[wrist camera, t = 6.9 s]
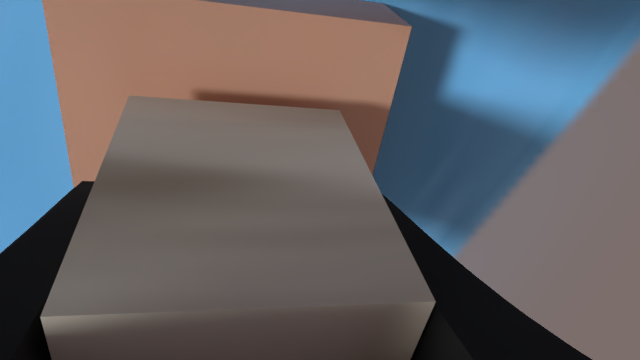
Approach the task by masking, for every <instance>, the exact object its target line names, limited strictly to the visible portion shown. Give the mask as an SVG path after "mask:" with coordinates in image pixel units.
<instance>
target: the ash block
mask: <svg viewBox="0 0 640 360" xmlns="http://www.w3.org/2000/svg"><path fill="white" fill-rule="evenodd" d="M435 302H436V301H435V299H434V297H433V295H432V293H431V291H430V289H429V287H428V285H427V283H426V281H425V279H424V277H423V275H422V273H421V271H420V269H419V267H418V265H417V263H416V261H415V259H414V257H413V255H412V253H411V251H410V249H409V247H408V245H407V243H406V241H405V239H404V237H403V235H402V233H401V231H400V229H399V228H398V226H397V224H396V222H395V220H394V218H393V216H392V214H391V212H390V210H389V208H388V206H387V204H386V202H385V200H384V198H383V196H382V194H381V192H380V190H379V188H378V186H377V184H376V182H375V180H374V178H373V176H372V174H371V172H370V170H369V168H368V166H367V164H366V162H365V160H364V158H363V156H362V154H361V152H360V150H359V148H358V146H357V144H356V142H355V140H354V138H353V136H352V134H351V132H350V130H349V128H348V126H347V124H346V122H345V120H344V118H343V116H342V114H341V112H340V110H328V109H314V108H300V107H286V106H272V105H257V104H243V103H229V102H215V101H201V100H187V99H173V98H159V97H144V96H130V95H129V97H128V100H127V102H126V105H125V107H124V109H123V112H122V114H121V117H120V119H119V122H118V124H117V127H116V129H115V132H114V134H113V137H112V139H111V142H110V144H109V147H108V149H107V152H106V154H105V157H104V159H103V162H102V164H101V167H100V169H99V172H98V174H97V177H96V179H95V182H94V184H93V187H92V189H91V192H90V194H89V197H88V199H87V202H86V204H85V207H84V209H83V212H82V214H81V217H80V219H79V222H78V224H77V226H76V229H75V231H74V234H73V236H72V239H71V241H70V244H69V246H68V249H67V251H66V254H65V256H64V259H63V261H62V264H61V266H60V269H59V271H58V274H57V276H56V279H55V281H54V284H53V286H52V289H51V291H50V294H49V296H48V299H47V301H46V304H45V306H44V309H43V311H42V314H41V316H40V318H41V322H42V326H43V329H44V333H45V337H46V340H47V344H48V348H49V352H50V355H51V359H52V360H410V359H411V357H412V355H413V352H414V350H415V348H416V346H417V343H418V341H419V339H420V336H421V334H422V332H423V330H424V327H425V325H426V323H427V320H428V318H429V316H430V314H431V311H432V309H433V307H434V305H435Z"/></svg>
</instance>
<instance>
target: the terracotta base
mask: <svg viewBox="0 0 640 360" xmlns="http://www.w3.org/2000/svg"><path fill="white" fill-rule="evenodd" d="M42 2H43V8H44V13H45V19H46V25H47V31H48V37H49V43H50V49H51V55H52V61H53V67H54V73H55V79H56V84H57V90H58V96H59V102H60V108H61V114H62V120H63V126H64V132H65V138H66V144H67V150H68V156H69V161H70V167H71V173H72V179H73V185H74V188H75V187H76V186H77V185H78V184H79V183H80V182H82V181H95V179H96V177H97V174H98V172H99V169H100V167H101V164H102V162H103V159H104V157H105V154H106V152H107V149H108V147H109V144H110V142H111V139H112V137H113V134H114V132H115V129H116V127H117V124H118V122H119V119H120V117H121V114H122V112H123V109H124V107H125V105H126V102H127V100H128V97H129V95H130V96H144V97H159V98H173V99H187V100H201V101H215V102H229V103H243V104H257V105H272V106H286V107H300V108H314V109H328V110H340V112H341V114H342V116H343V118H344V120H345V122H346V124H347V126H348V128H349V130H350V132H351V134H352V136H353V138H354V140H355V142H356V144H357V146H358V148H359V150H360V152H361V154H362V156H363V158H364V160H365V162H366V164H367V166H368V168H369V170H370V172H371V174H372V175H373V171H374V168H375V164H376V160H377V156H378V153H379V149H380V145H381V141H382V138H383V134H384V130H385V126H386V123H387V119H388V115H389V111H390V107H391V104H392V100H393V96H394V92H395V89H396V85H397V81H398V77H399V74H400V70H401V66H402V62H403V59H404V55H405V51H406V47H407V44H408V40H409V36H410V32H411V29H412V26H411V25H410V24H408V23H407V22H406V21H405V20H403V19H402V18H401V17H400V16H399V15H397V14H396V13H395V12H394V11H392V10H391V9H390V8H389V7H387V6H386V5H385V4H383V3H376V2H368V1H361V0H42Z"/></svg>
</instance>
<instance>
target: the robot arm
mask: <svg viewBox="0 0 640 360" xmlns="http://www.w3.org/2000/svg"><path fill="white" fill-rule="evenodd" d="M94 182H95V181H82V182H80V183H79V184H78V185H77V186H76V187H75V188H73V189H72V190H71V191H70V192H69V193H68V194H67V195H65V196H64V197H63V198H62V199H61V200H60V201H59V202H58V203H57V204H56V205H54V206H53V207H52V208H51V209H50V210H49V211H48V212H47V213H46V214H45V215H44V216H42V217H41V218H40V219H39V220H38V221H37V222H36V223H35V224H34V225H32V226H31V227H30V228H29V229H28V230H27V231H26V232H25V233H23V234H22V235H21V236H20V237H19V238H18V239H17V240H15V241H14V242H13V243H12V244H11V245H10V246H8V247H7V248H6V249H5V250H4V251H3V252H1V253H0V360H52V359H51V355H50V352H49V348H48V344H47V340H46V337H45V333H44V329H43V326H42V322H41V318H40V316H41V314H42V311H43V309H44V306H45V304H46V301H47V299H48V296H49V294H50V291H51V289H52V286H53V284H54V281H55V279H56V276H57V274H58V271H59V269H60V266H61V264H62V261H63V259H64V256H65V254H66V251H67V249H68V246H69V244H70V241H71V239H72V236H73V234H74V231H75V229H76V226H77V224H78V222H79V219H80V217H81V214H82V212H83V209H84V207H85V204H86V202H87V199H88V197H89V194H90V192H91V189H92V187H93V184H94ZM382 196H383V198H384V200H385V202H386V204H387V206H388V208H389V210H390V212H391V214H392V216H393V218H394V220H395V222H396V224H397V226H398V228H399V229H400V231H401V233H402V235H403V237H404V239H405V241H406V243H407V245H408V247H409V249H410V251H411V253H412V255H413V257H414V259H415V261H416V263H417V265H418V267H419V269H420V271H421V273H422V275H423V277H424V279H425V281H426V283H427V285H428V287H429V289H430V291H431V293H432V295H433V297H434V299H435V301H436V302H435V305H434V307H433V309H432V311H431V314H430V316H429V318H428V320H427V323H426V325H425V327H424V330H423V332H422V334H421V336H420V339H419V341H418V343H417V346H416V348H415V350H414V352H413V355H412V357H411V359H410V360H592V359H590V358H589V357H587V356H586V355H584V354H582V353H581V352H579V351H578V350H576V349H575V348H573V347H572V346H570V345H569V344H567V343H565V342H564V341H563V340H561V339H560V338H558V337H557V336H555V335H554V334H553V333H551V332H550V331H548V330H547V329H545V328H544V327H542V326H541V325H540V324H538V323H537V322H535V321H534V320H532V319H531V318H529V317H528V316H526V315H525V314H524V313H523V312H521V311H520V310H518V309H517V308H516V307H514V306H513V305H512V304H510V303H509V302H508V301H506V300H505V299H504V298H502V297H501V296H500V295H499V294H498V293H496V292H495V291H494V290H492V289H491V288H490V287H489V286H487V285H486V284H485V283H484V282H482V281H481V280H480V279H479V278H477V277H476V276H475V275H474V274H472V273H471V272H470V271H469V270H467V269H466V268H465V267H464V266H463V265H462V264H460V263H459V262H458V261H457V260H456V259H454V258H453V257H452V256H451V255H450V254H449V253H447V252H446V251H445V250H444V249H443V248H442V247H441V246H440V245H438V244H437V243H436V242H435V241H434V240H433V239H432V238H430V237H429V236H428V235H427V234H426V233H425V232H424V231H423V230H422V229H420V228H419V227H418V226H417V225H416V224H415V223H414V222H413V221H412V220H411V219H409V218H408V217H407V216H406V215H405V214H404V213H403V212H402V211H401V210H400V209H398V208H397V207H396V206H395V205H394V204H393V203H392V202H391V201H389V200H388V199H387V198H386V197H385V196H384V195H383V194H382Z"/></svg>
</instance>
